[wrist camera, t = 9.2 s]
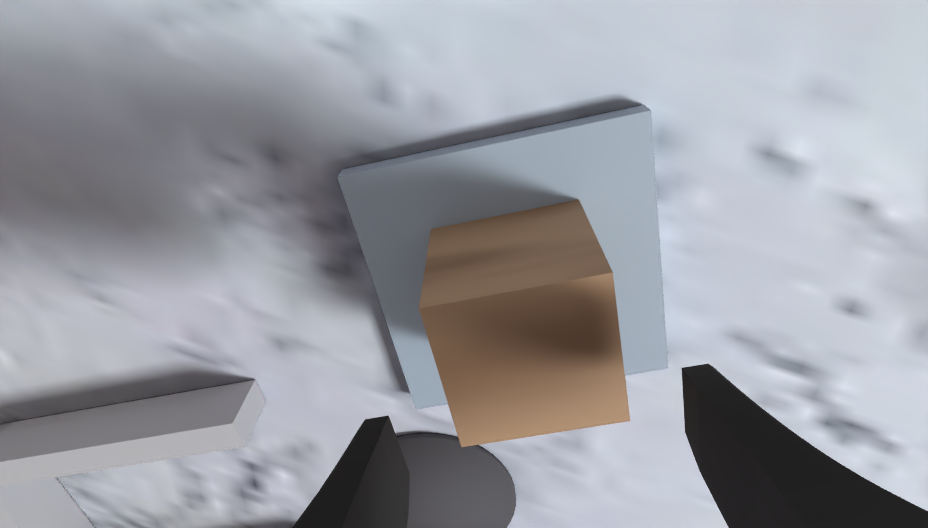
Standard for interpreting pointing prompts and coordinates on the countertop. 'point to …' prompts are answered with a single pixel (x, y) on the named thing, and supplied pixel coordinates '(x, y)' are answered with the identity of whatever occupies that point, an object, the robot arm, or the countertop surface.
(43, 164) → the countertop surface
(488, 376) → the walnut cube
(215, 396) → the grey flat u-shaped piece
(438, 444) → the hole mat
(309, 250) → the countertop surface
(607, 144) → the board
